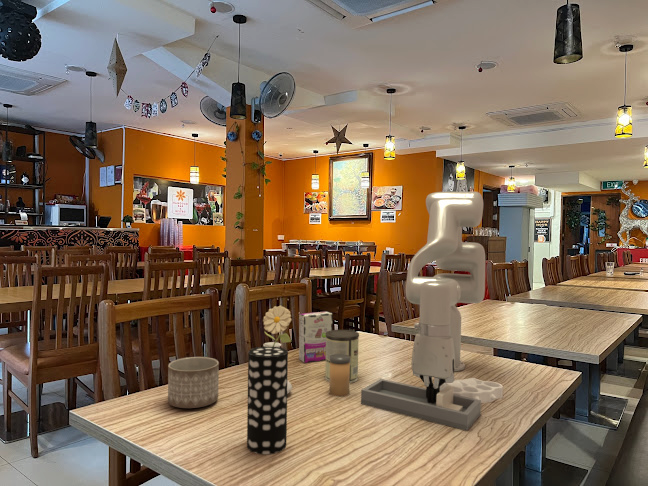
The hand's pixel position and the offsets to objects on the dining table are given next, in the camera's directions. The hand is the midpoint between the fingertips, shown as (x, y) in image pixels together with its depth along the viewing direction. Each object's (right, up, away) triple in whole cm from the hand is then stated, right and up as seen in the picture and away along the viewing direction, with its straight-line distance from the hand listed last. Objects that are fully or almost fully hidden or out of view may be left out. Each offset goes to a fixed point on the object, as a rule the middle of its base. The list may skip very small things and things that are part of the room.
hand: (432, 401), depth 118 cm
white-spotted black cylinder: (-40, -3, -19) cm, 44 cm away
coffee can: (-22, -2, +26) cm, 34 cm away
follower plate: (+4, -1, -3) cm, 5 cm away
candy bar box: (-31, -1, +45) cm, 55 cm away
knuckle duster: (+14, -3, +13) cm, 19 cm away
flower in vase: (-42, -2, +11) cm, 43 cm away
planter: (-62, -2, +4) cm, 62 cm away
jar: (-23, -2, +13) cm, 27 cm away
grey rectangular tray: (-3, -3, +2) cm, 4 cm away
